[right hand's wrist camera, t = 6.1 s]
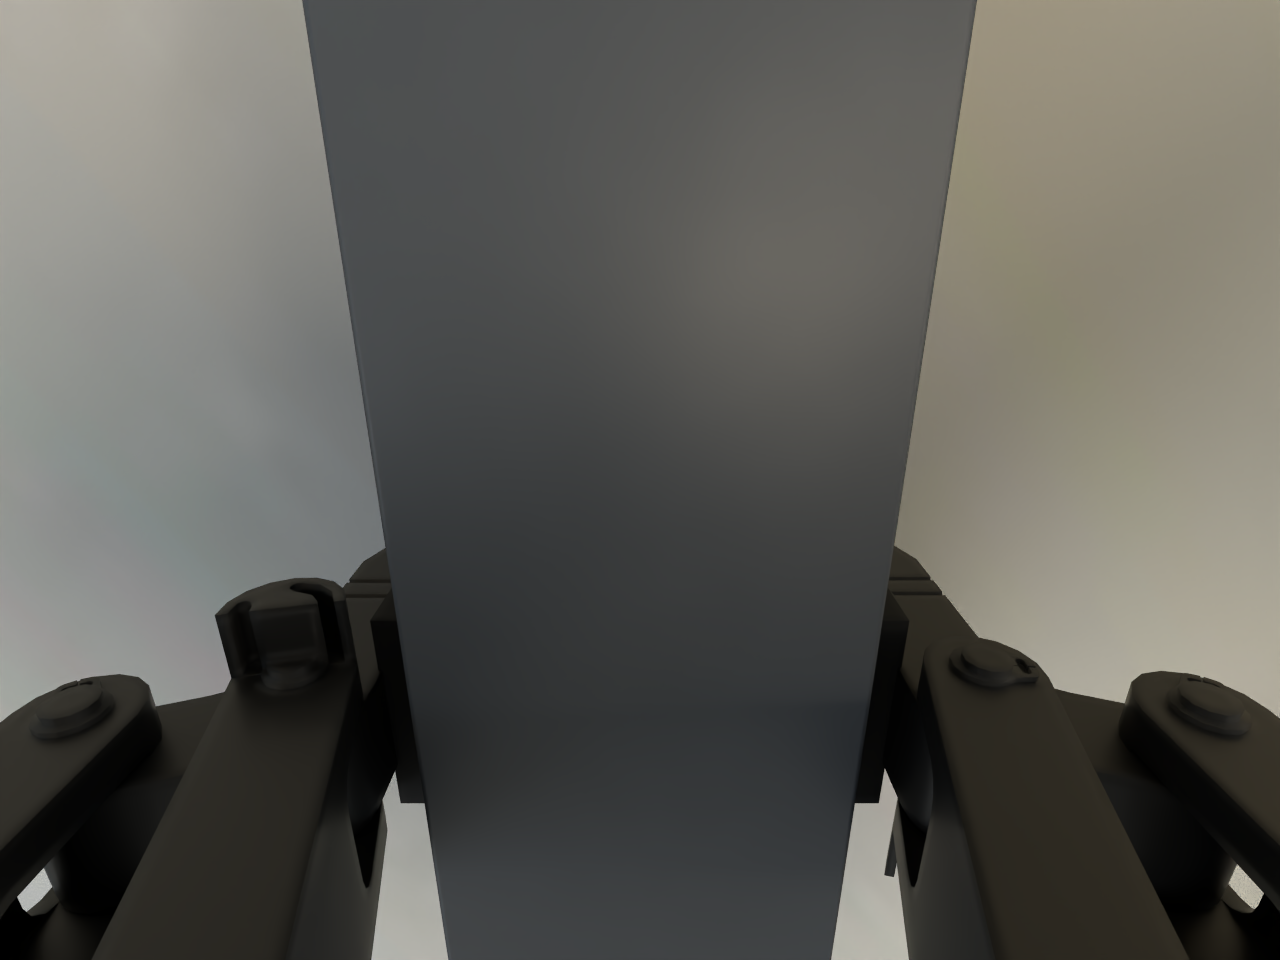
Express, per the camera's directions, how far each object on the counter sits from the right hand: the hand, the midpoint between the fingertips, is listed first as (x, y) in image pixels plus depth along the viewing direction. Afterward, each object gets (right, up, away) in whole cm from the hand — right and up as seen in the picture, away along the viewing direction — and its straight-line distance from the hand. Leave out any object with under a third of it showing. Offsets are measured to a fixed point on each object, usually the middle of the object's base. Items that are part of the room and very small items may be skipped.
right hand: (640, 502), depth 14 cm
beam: (0, +29, -11) cm, 31 cm away
